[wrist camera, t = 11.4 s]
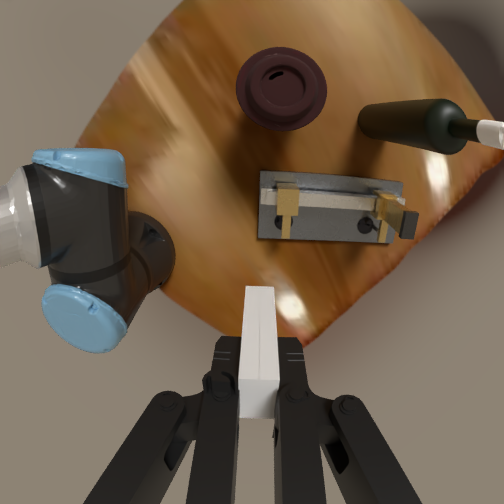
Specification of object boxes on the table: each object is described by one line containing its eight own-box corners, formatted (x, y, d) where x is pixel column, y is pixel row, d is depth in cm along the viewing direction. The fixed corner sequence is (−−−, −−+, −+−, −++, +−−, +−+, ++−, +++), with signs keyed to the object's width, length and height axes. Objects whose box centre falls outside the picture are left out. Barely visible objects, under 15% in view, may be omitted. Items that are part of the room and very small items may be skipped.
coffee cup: (305, 132, 42) (326, 137, 28) (240, 126, 42) (231, 127, 28) (310, 72, 38) (333, 50, 24) (245, 66, 38) (238, 39, 24)
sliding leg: (364, 232, 47) (392, 264, 36) (371, 188, 44) (403, 210, 33) (380, 233, 47) (410, 265, 36) (387, 190, 44) (422, 212, 33)
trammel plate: (258, 235, 49) (257, 250, 44) (260, 170, 45) (260, 176, 39) (390, 241, 49) (404, 255, 43) (400, 181, 44) (416, 189, 39)
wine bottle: (377, 145, 42) (511, 190, 15) (351, 123, 41) (477, 136, 14) (396, 120, 40) (537, 139, 13) (370, 97, 39) (505, 83, 12)
